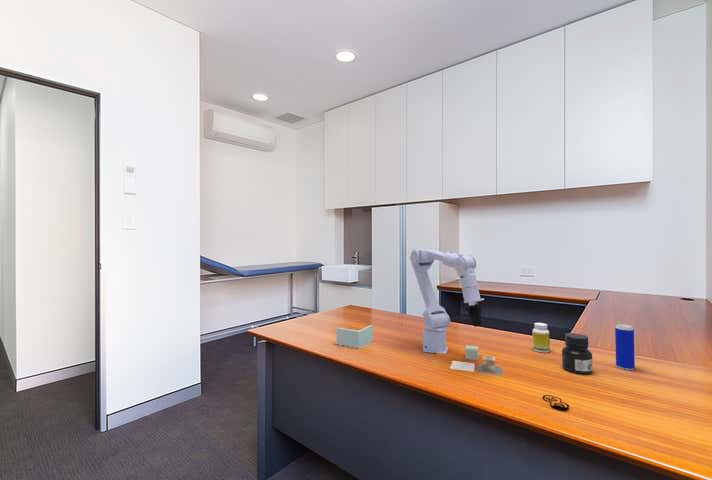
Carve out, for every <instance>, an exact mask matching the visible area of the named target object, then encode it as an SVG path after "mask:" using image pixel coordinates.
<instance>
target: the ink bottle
mask: <svg viewBox="0 0 712 480" xmlns="http://www.w3.org/2000/svg"><path fill="white" fill-rule="evenodd" d="M564 344H565V346H564V347H563V348H562V349H561V366H562V369H564V370H566V371H568V372H571V373H574V374H579V375H589V374H592V373H593V353H592V352H591V351H590V350H589V337H588V336H587V335H584V334H582V333H573V332H571V333H570V332H569V333H564Z"/></svg>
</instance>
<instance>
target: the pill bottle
mask: <svg viewBox="0 0 712 480" xmlns="http://www.w3.org/2000/svg"><path fill="white" fill-rule="evenodd" d="M533 324H534V325H533V327H534V328H533V329H532V332H531V333H532V334H531V335H532V350H533V351H535V352H537V353H544V354H545V353H550V350H551V346H550V345H551V343H550V340H551V339H550V331H549V330H548V324H547V323H544V322H535V323H533Z"/></svg>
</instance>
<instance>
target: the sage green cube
mask: <svg viewBox="0 0 712 480" xmlns="http://www.w3.org/2000/svg"><path fill="white" fill-rule="evenodd" d="M464 353H465V354H464V357H465V360H471V361H479V346H477V345H476V346H475V345H468V344H466V345H465V348H464Z"/></svg>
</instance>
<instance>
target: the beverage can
mask: <svg viewBox="0 0 712 480" xmlns="http://www.w3.org/2000/svg"><path fill="white" fill-rule="evenodd" d="M614 337H615V340H614V341H615V344H614V345H615V365H616V367H617V368H618V369H621V370H624V369H625V371H633V370H634V369H635V367H636V366H635V363H636V362H635V358H636V357H635V328H634V326H632V325H629V324H624V323H617V324H616V325H615V326H614Z"/></svg>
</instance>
